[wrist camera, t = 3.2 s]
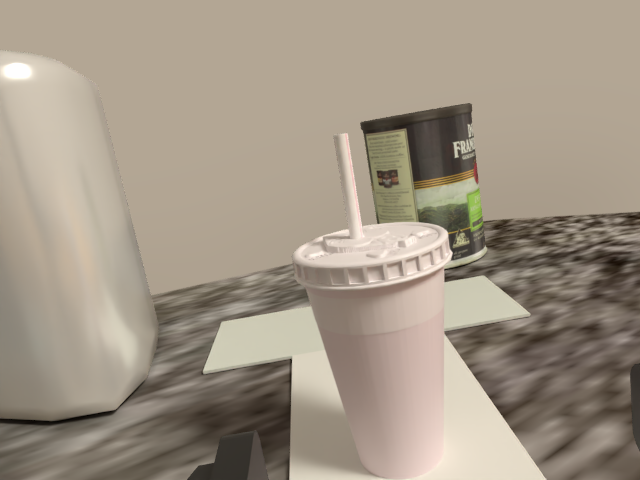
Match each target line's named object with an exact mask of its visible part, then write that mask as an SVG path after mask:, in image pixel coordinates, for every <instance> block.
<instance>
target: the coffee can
mask: <svg viewBox="0 0 640 480" xmlns="http://www.w3.org/2000/svg"><path fill="white" fill-rule="evenodd" d="M471 112H472V104H470V103H468V104H461V105H455V106H450V107H444V108H438V109H431V110H426V111H420V112H415V113H409V114H403V115H397V116H391V117H386V118H381V119H375V120H370V121H364V122H361V123H360V124H361V129H362V130H363V133H364V140H365V146H366V152H367V160H368V166H369V173H370V179H371V186H372V193H373V198H374V205H375V212H376V218H377V224H382V223H394V222H420V223H429V224H434V225H438V226H440V227H442V228H444V229H445V230H446V231H447V232H448V238H449V247H450V250H451V251H452V253H453V254H452V257H451V261H449V262H448V263H447V264H446V265H445V266H444V269H449V268H454V267H458V266H462V265H466V264H469V263H471V262H474V261H476V260H478V259H480V258H482V257H483V256H484V255H485V254H486V252H487V248H486V246H485V237H484V228H483V219H482V210H481V201H480V192H479V182H478V174H477V164H476V155H475V146H474V136H473V128H472V117H471Z"/></svg>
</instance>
